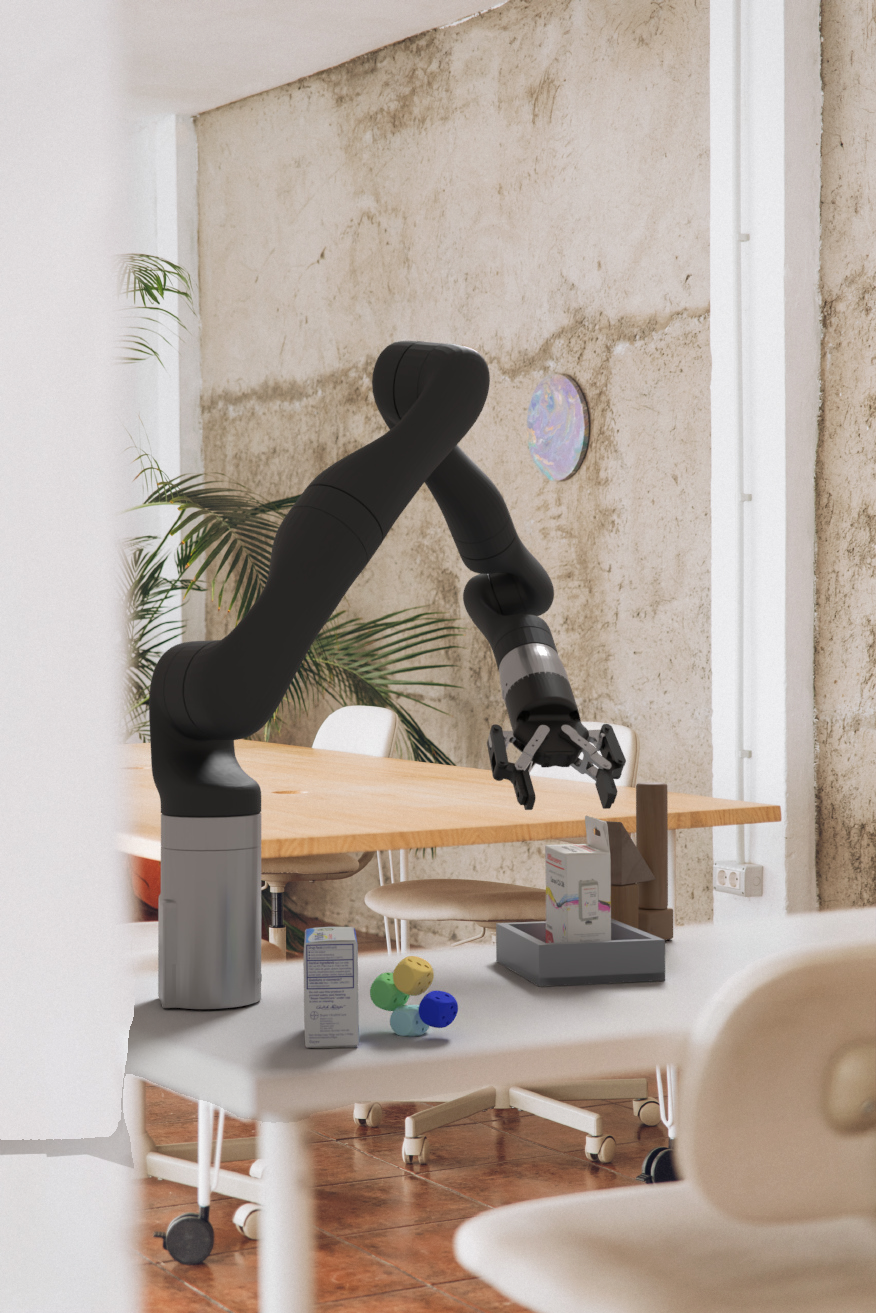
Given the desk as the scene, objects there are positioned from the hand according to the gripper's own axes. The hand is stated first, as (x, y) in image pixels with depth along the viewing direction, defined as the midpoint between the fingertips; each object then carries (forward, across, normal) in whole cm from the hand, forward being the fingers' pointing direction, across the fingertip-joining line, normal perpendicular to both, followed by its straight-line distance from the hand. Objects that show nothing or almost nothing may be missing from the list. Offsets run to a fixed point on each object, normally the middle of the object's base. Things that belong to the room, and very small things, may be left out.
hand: (570, 804), depth 166 cm
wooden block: (+3, +12, +21) cm, 24 cm away
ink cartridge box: (+13, 0, +10) cm, 16 cm away
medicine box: (+32, -30, -8) cm, 44 cm away
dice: (+32, -23, -8) cm, 40 cm away
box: (+14, 0, +10) cm, 17 cm away
